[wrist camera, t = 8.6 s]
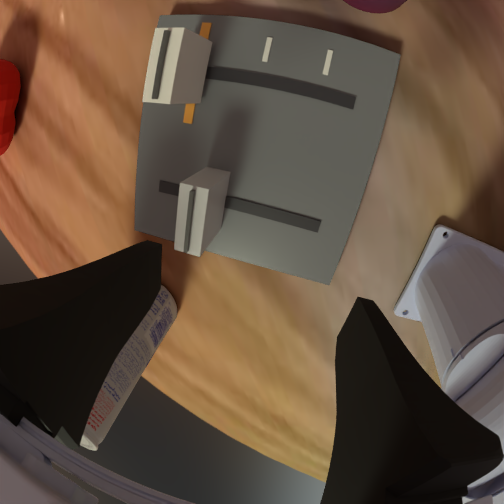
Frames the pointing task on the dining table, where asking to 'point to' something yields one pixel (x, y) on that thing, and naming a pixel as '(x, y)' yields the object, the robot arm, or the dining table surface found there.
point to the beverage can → (129, 368)
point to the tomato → (8, 102)
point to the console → (266, 145)
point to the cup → (376, 5)
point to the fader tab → (176, 67)
